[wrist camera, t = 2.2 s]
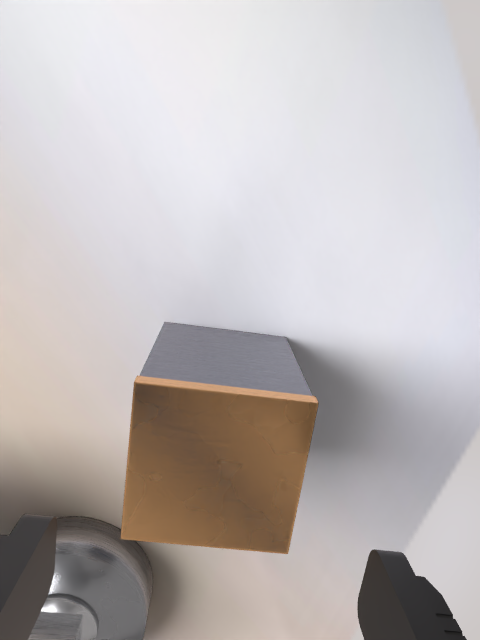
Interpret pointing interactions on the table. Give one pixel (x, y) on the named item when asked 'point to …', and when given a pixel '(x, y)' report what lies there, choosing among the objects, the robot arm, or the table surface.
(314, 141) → the table surface
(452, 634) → the robot arm
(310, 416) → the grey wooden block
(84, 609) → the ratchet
